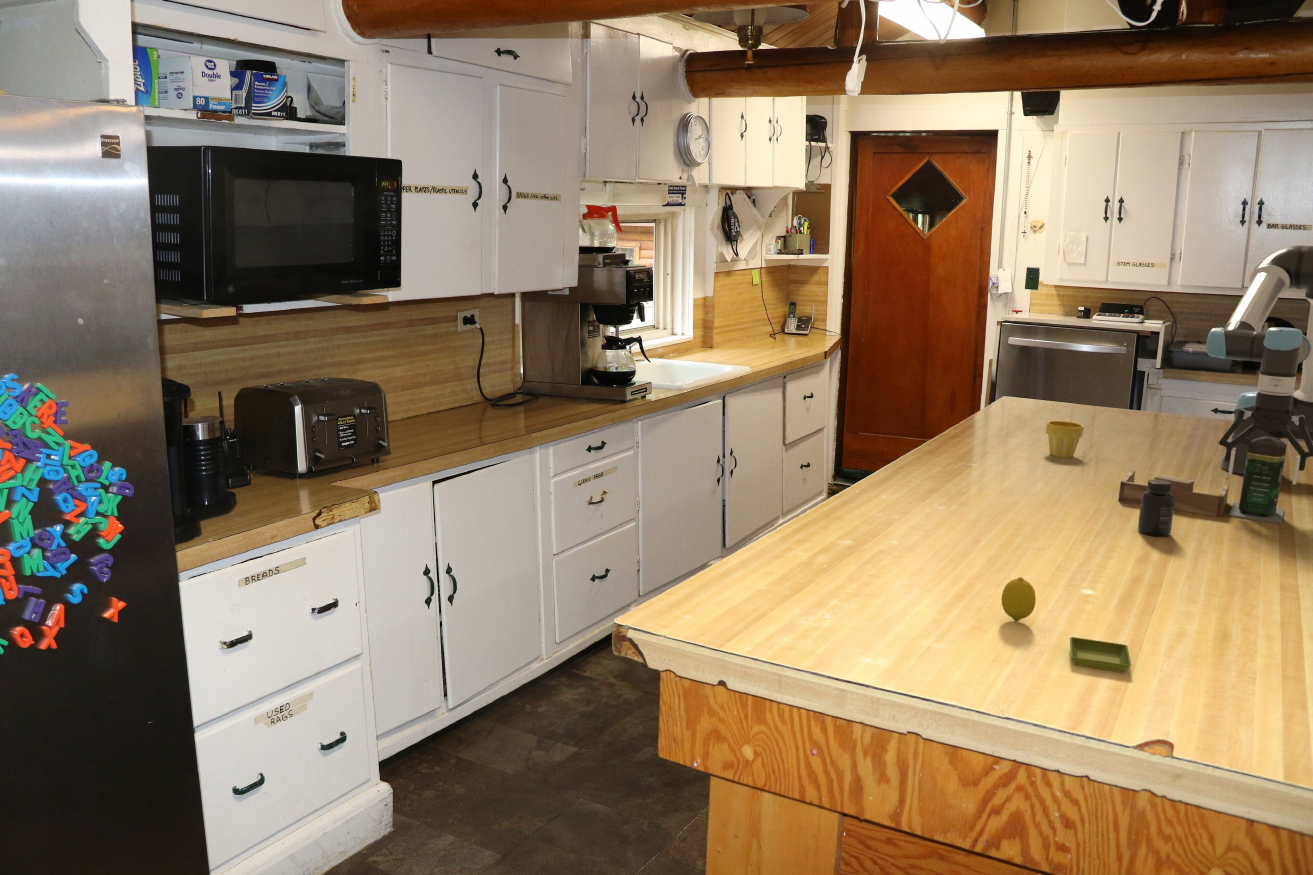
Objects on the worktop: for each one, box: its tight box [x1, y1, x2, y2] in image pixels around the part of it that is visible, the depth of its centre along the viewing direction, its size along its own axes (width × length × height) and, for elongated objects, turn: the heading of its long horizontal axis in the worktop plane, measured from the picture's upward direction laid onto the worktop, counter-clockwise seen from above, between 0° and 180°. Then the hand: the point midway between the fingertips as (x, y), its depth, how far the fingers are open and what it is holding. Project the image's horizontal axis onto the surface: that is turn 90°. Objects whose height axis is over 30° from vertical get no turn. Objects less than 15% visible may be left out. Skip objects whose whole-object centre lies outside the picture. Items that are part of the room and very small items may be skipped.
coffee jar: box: [1238, 436, 1287, 516], centre depth 248 cm, size 10×8×19 cm
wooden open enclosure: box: [1118, 469, 1230, 518], centre depth 259 cm, size 16×23×5 cm
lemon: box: [1001, 576, 1037, 622], centre depth 177 cm, size 6×6×8 cm
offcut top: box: [1153, 474, 1195, 491], centre depth 255 cm, size 4×8×2 cm, turn 45°
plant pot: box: [1045, 420, 1084, 459], centre depth 309 cm, size 10×10×10 cm
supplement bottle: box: [1137, 479, 1175, 538], centre depth 231 cm, size 7×7×12 cm
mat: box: [1228, 501, 1285, 525], centre depth 251 cm, size 14×11×1 cm
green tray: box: [1069, 636, 1132, 673], centre depth 162 cm, size 9×9×2 cm
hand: (1261, 479), depth 249 cm, fingers open, 13 cm apart
